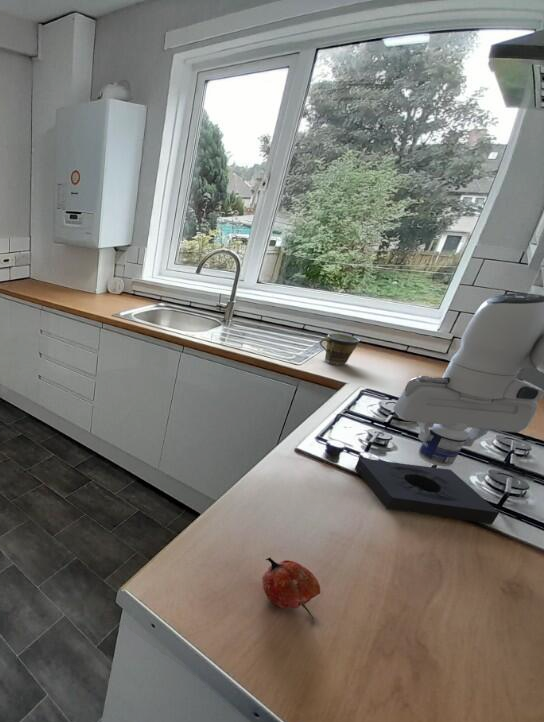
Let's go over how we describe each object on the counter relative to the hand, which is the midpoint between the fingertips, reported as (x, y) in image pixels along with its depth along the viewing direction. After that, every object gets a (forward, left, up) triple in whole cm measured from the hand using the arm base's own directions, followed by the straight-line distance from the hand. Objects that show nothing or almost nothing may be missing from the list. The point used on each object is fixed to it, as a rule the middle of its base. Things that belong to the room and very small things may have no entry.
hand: (443, 442), depth 82 cm
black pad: (0, 0, -13) cm, 13 cm away
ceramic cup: (-14, -82, -13) cm, 84 cm away
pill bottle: (0, 0, -4) cm, 4 cm away
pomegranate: (+36, +35, -13) cm, 52 cm away
